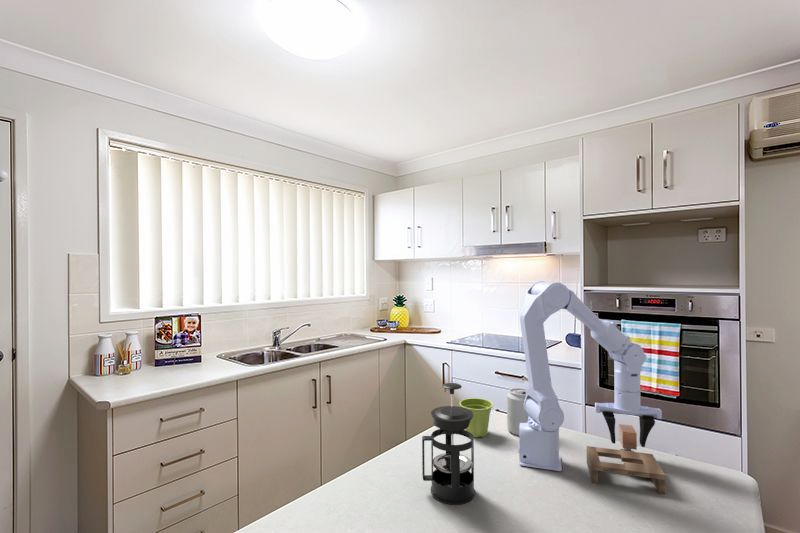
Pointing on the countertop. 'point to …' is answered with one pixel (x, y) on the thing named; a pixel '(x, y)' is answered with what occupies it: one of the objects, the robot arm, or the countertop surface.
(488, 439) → the countertop surface
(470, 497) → the french press
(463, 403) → the plant pot
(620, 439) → the peg
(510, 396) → the can
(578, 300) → the robot arm
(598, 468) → the keyhole plate
